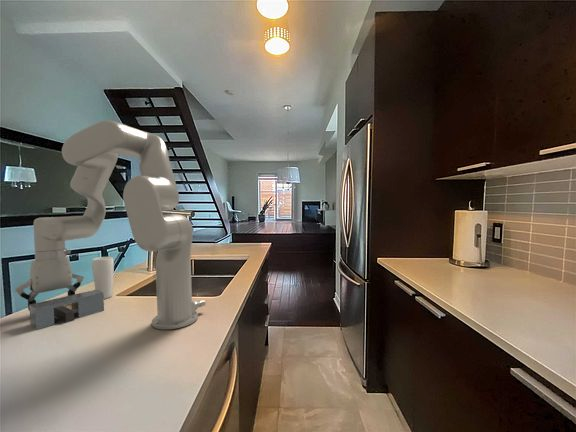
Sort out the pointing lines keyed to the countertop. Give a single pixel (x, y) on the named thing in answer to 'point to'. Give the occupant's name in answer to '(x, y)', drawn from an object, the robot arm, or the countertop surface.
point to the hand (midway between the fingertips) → (53, 307)
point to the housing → (79, 302)
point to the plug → (64, 314)
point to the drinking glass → (103, 275)
